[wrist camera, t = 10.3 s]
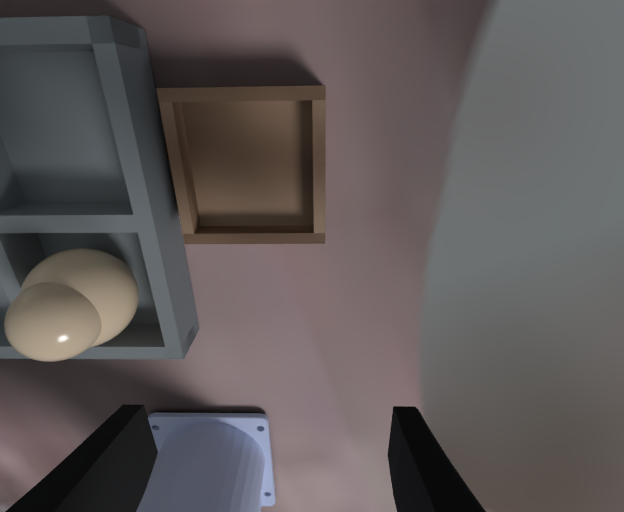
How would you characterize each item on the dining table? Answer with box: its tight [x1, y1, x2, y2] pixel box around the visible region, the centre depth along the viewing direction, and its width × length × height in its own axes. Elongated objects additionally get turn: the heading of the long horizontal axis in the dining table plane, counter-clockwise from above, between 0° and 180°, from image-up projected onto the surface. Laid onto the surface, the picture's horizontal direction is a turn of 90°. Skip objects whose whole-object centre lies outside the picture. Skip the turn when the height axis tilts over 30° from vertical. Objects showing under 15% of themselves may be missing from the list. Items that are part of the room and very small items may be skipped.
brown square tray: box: [156, 85, 325, 244], centre depth 15 cm, size 6×6×2 cm
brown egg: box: [4, 248, 139, 362], centre depth 15 cm, size 5×5×6 cm
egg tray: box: [0, 15, 199, 359], centre depth 16 cm, size 15×15×3 cm
